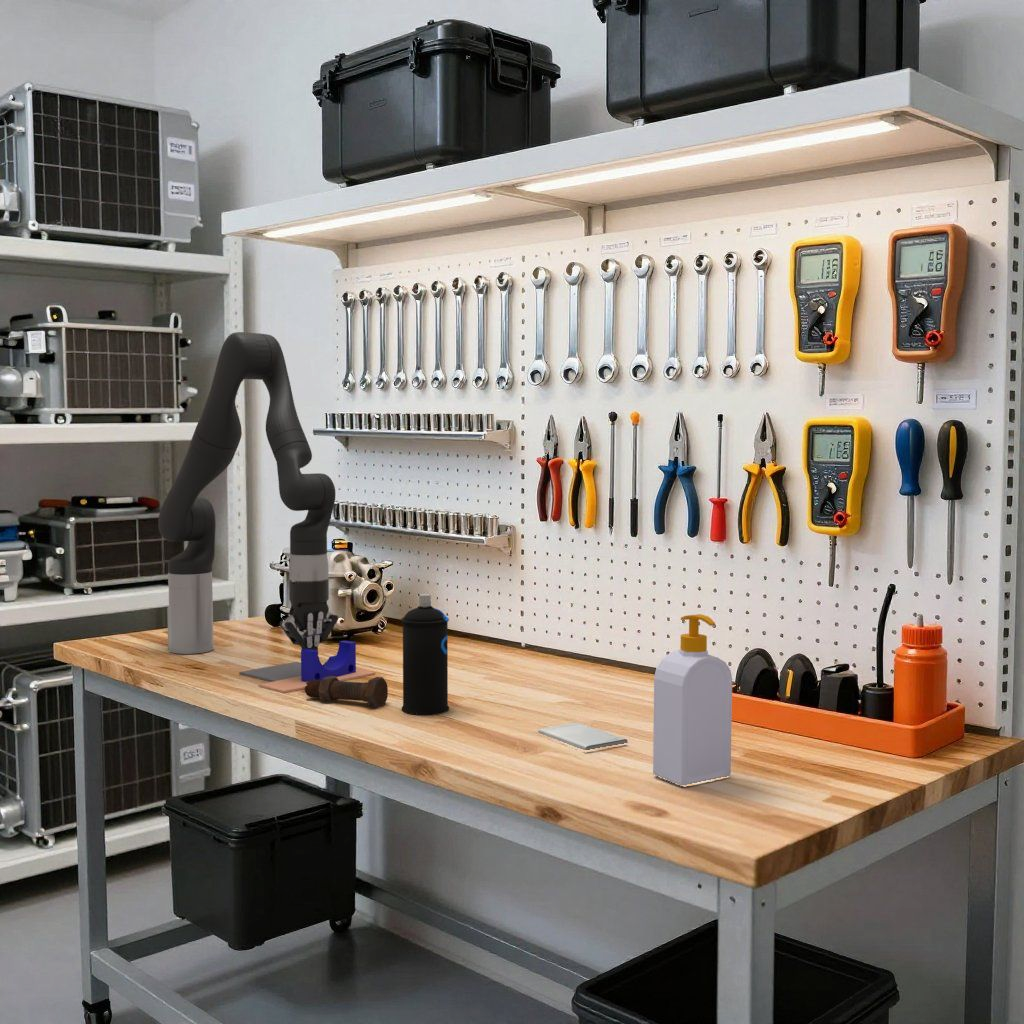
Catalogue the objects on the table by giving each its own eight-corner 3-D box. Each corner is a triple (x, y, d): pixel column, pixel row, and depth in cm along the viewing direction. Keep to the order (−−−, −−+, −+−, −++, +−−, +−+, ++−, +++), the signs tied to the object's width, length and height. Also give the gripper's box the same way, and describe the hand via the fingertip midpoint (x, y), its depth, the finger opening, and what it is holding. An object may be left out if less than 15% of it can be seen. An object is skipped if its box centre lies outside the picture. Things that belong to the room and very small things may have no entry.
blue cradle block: (339, 669, 229) (338, 639, 229) (355, 672, 227) (355, 642, 226) (295, 680, 220) (295, 649, 219) (312, 683, 217) (312, 651, 217)
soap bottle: (685, 790, 154) (687, 621, 153) (652, 777, 160) (654, 614, 158) (735, 779, 159) (737, 615, 157) (701, 767, 165) (703, 608, 163)
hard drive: (628, 738, 176) (579, 721, 187) (585, 746, 172) (537, 728, 182) (627, 749, 176) (579, 731, 187) (585, 757, 172) (537, 738, 182)
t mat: (221, 677, 224) (221, 675, 224) (312, 660, 240) (312, 658, 240) (284, 693, 211) (284, 690, 211) (375, 674, 227) (375, 672, 227)
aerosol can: (409, 717, 193) (408, 599, 192) (395, 706, 201) (395, 592, 199) (455, 712, 196) (455, 596, 195) (440, 702, 204) (440, 590, 202)
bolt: (311, 707, 208) (383, 713, 201) (297, 699, 203) (370, 704, 197) (319, 677, 210) (391, 681, 204) (305, 668, 206) (377, 672, 200)
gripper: (323, 572, 229) (324, 658, 230) (268, 578, 219) (269, 668, 221) (348, 575, 224) (348, 663, 225) (293, 582, 214) (294, 673, 216)
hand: (309, 665), depth 223 cm, fingers closed
